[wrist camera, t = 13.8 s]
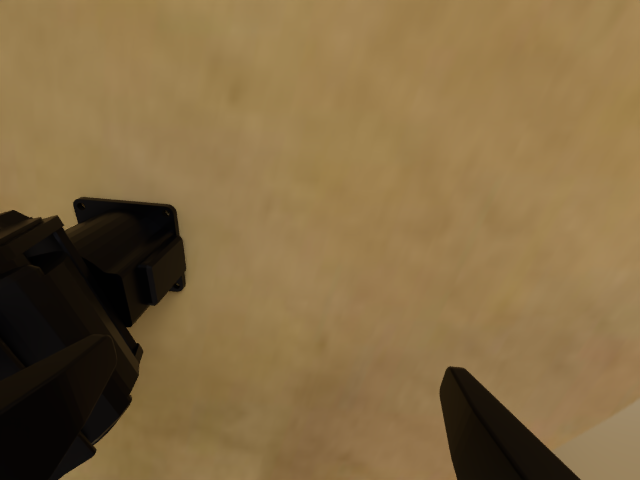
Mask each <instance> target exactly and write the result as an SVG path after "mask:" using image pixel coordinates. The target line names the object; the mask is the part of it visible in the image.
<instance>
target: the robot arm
mask: <svg viewBox="0 0 640 480" xmlns="http://www.w3.org/2000/svg"><path fill="white" fill-rule="evenodd" d="M82 203H83V204H84V206H85V208H84V207H83V206H82ZM73 206H74V210H75V213H76V217H77V221H78V224H77V225H75V226H73V227H71V228H69V229H67V230H65V231H64V229H63V228H62V226H64V224H63V223H62V221H61V220H60V218H59V217H58V215H56V216H52V217H48V218H44V219H42V218H41V217H38V218H32V217H30V218H29V217H27V216H25V215H23V214H21V213H19V212H17V211H15V210H12V211H8V212H4V213H1V214H0V480H58V479H60V478H61V477H62V476H63V475H65V474H66V473H68V472H69V471H71V470H73V469H74V468H76V467H77V466H79V465H80V464H82V463H84V462H85V461H87V460H88V459H90V458H91V457H93V456H94V454H95V453H96V448H95V447H94V446H93V445H94V444H96V443H97V442H98V441H99V440H100V439H101V438H103V437H104V436H105V435H106V434H107V433H108V432H109V431H110V430H111V428H112V427H113V426H114V425H115V424H116V422H117V421H118V420H119V418H120V417H121V416H122V415H123V413H124V412H125V411H126V409H127V408H128V407H129V405H130V403H131V401H132V397H131V395H130V393H131V391H132V389H133V387H134V384H135V382H136V380H137V378H138V376H139V364H140V360H141V357H142V354H143V349H142V348H141V346H140V344H139V343H136V342H135V341H134V339H133V337H132V336H131V334H130V333H129V331H128V330H127V328H126V327H131V326H132V325H133V324H134V323H135V322H136V321H137V319H138V318H139V317H140V316H141V315H142V314H143V313H144V311H145V310H146V309H147V308H148V307H149V306H150V305H152V306H155V305H156V304H158V303H159V302H160V300H161V299H162V298H163V297H164V296H165V294H166V293H167V292H168V291H176V292H178V291H181V290H182V289H183V288H184V287H185V284H186V283H185V275H184V272H185V271H186V264H185V256H184V248H183V240H182V238H181V237H180V236H179V228H178V220H177V212H176V209H175V208H174V207H173V206H171V205H168V204H158V203H146V202H135V201H123V200H111V199H100V198H88V197H81V198H78V199H76V200H75V201H74V203H73ZM165 210H167V211H168V212H169V213H170V215H167V214H166V213H165ZM176 283H178V284H179V285H180V286H178V285H177V284H176ZM440 401H441V406H442V411H443V417H444V422H445V428H446V433H447V438H448V444H449V449H450V454H451V459H452V462H453V466H454V470H455V473H456V477H457V480H580V478H578V477H577V476H576V475H575V474H574V473H573V472H572V471H571V470H570V469H569V468H568V467H567V466H566V465H565V464H564V463H563V462H562V461H561V460H560V459H559V458H558V457H556V456H555V454H553V453H552V452H551V451H550V450H549V449H548V448H547V447H546V446H545V445H544V444H543V443H542V442H541V441H540V440H539V439H538V438H537V437H536V436H535V435H534V434H533V433H532V432H531V431H530V430H528V429H527V428H526V427H525V426H524V425H523V424H522V423H521V422H520V421H519V420H518V419H517V418H516V417H515V416H514V415H513V414H512V413H511V412H510V411H509V410H508V409H507V408H506V407H505V406H503V405H502V404H501V403H500V402H499V401H498V400H497V399H496V398H495V397H494V396H493V395H492V394H491V393H490V392H489V391H488V390H487V389H486V388H485V387H484V386H483V385H482V384H481V383H480V382H478V381H477V380H476V379H475V378H474V377H473V376H472V375H471V374H470V373H469V372H468V371H467V370H466V369H464V368H461V367H451V366H450V367H448V368H447V369H446V371H445V374H444V377H443V380H442V383H441V386H440Z"/></svg>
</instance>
